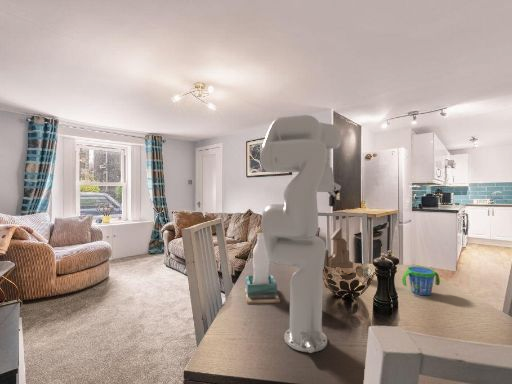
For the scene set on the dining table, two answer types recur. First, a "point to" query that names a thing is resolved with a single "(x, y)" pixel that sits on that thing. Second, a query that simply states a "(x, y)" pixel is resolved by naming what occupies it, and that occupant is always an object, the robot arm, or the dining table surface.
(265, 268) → the water bottle
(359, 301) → the dining table surface
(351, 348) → the dining table surface
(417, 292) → the snack cup
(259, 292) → the bottle stand
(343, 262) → the wooden toy
